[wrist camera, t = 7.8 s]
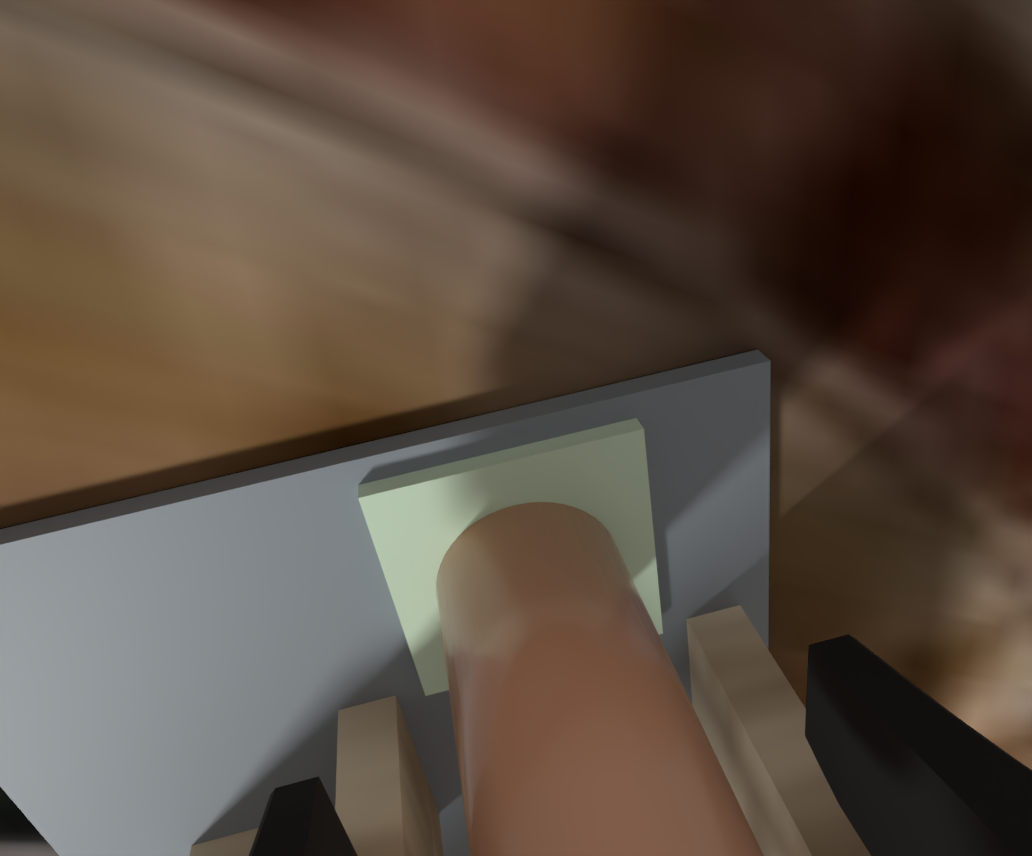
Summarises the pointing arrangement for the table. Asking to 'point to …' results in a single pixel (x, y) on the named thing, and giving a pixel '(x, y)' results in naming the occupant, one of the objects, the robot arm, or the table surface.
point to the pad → (491, 487)
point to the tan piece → (722, 713)
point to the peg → (571, 700)
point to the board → (312, 614)
